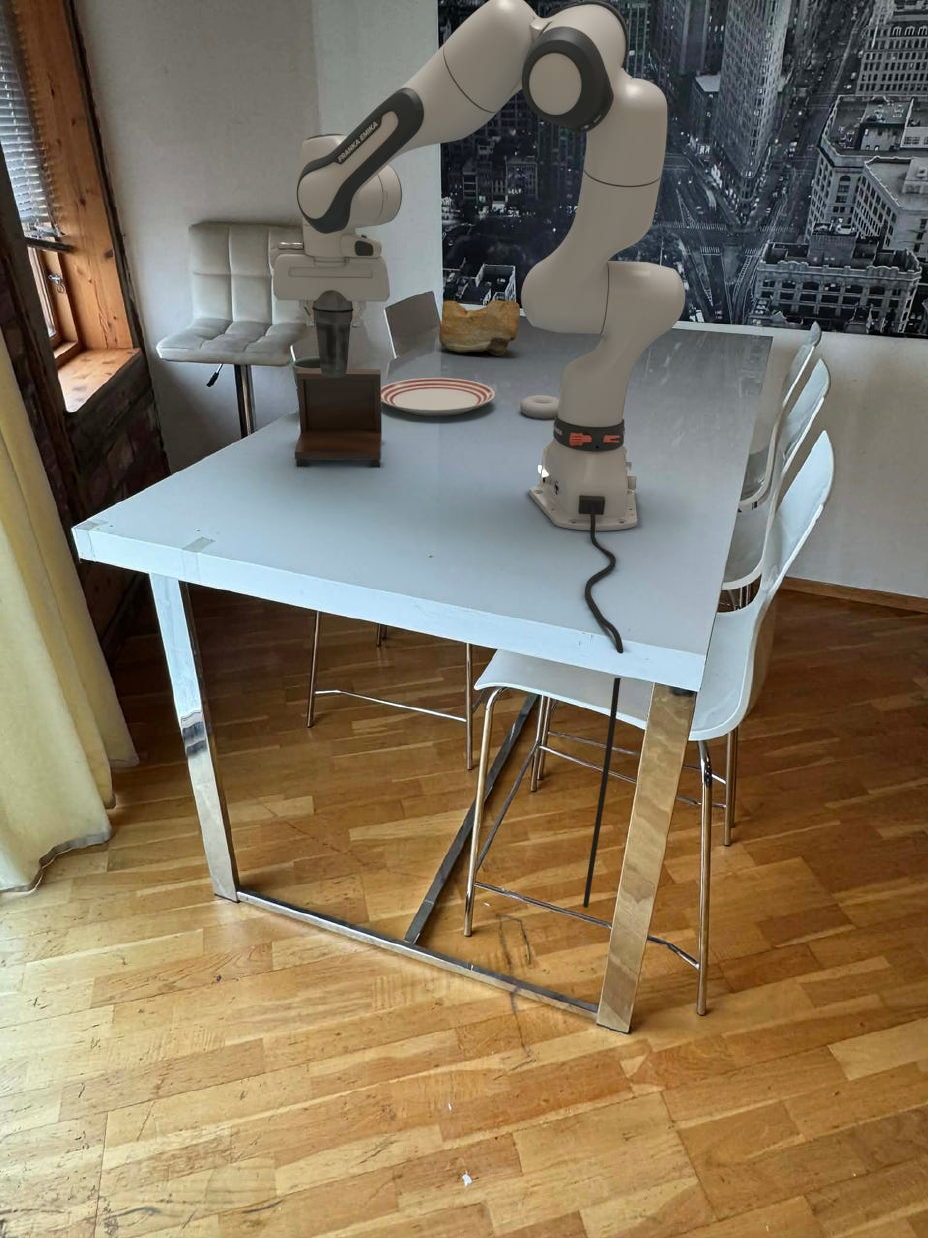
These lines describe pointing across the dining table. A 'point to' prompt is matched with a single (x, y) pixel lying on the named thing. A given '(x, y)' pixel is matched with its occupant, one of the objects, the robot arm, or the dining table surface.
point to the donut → (540, 406)
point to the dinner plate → (436, 396)
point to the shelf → (339, 416)
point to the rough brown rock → (479, 327)
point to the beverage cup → (333, 332)
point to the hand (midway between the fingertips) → (334, 326)
